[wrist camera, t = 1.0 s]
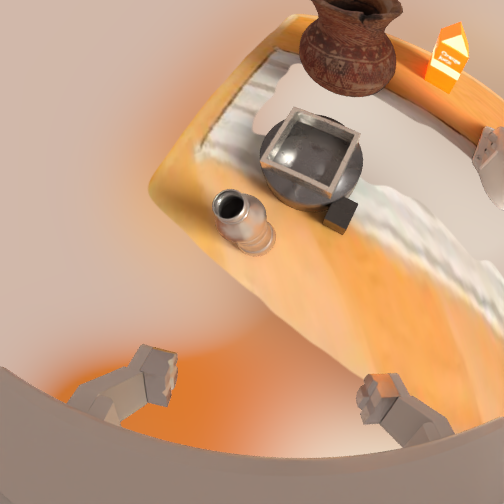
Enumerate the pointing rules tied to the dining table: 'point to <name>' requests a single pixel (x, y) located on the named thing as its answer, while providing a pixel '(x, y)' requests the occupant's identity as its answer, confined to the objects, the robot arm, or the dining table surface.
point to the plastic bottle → (243, 222)
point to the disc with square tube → (313, 165)
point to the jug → (350, 46)
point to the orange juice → (448, 58)
